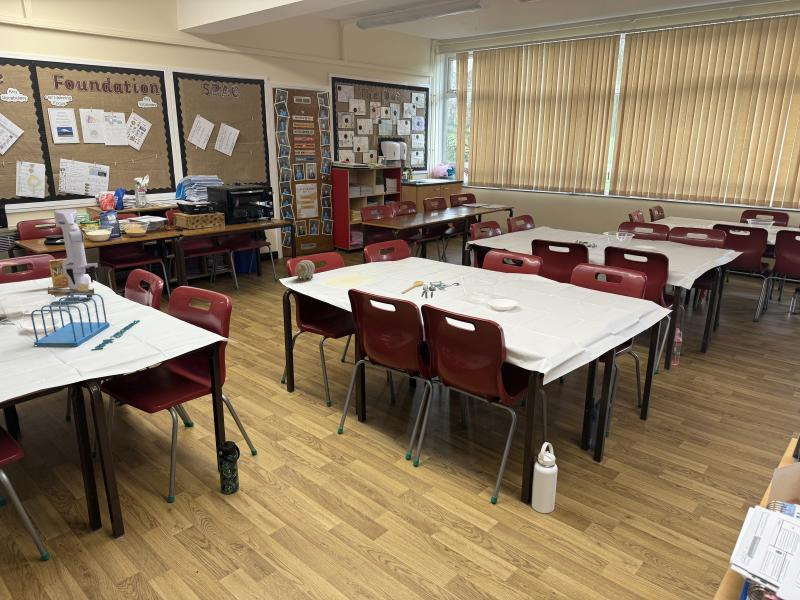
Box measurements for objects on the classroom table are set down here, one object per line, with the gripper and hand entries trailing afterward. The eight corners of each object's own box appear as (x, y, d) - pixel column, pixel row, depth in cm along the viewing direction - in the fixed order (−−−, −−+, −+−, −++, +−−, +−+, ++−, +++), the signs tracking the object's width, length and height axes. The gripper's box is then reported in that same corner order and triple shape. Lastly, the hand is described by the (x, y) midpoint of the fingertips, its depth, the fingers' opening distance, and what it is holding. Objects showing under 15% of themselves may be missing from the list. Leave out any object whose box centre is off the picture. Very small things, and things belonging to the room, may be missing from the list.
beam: (47, 297, 275) (47, 289, 274) (48, 294, 280) (48, 286, 279) (94, 298, 285) (94, 290, 284) (93, 295, 290) (93, 287, 289)
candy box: (53, 288, 306) (48, 261, 302) (53, 286, 310) (49, 259, 306) (72, 286, 310) (67, 259, 306) (72, 285, 314) (67, 258, 309)
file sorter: (71, 326, 246) (65, 292, 242) (110, 326, 246) (105, 293, 242) (34, 346, 222) (27, 309, 218) (77, 347, 222) (71, 310, 218)
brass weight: (77, 292, 282) (78, 285, 281) (77, 290, 285) (77, 283, 284) (87, 292, 284) (88, 285, 283) (87, 290, 287) (87, 283, 286)
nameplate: (88, 351, 218) (101, 351, 218) (88, 349, 218) (101, 349, 218) (132, 321, 254) (143, 321, 254) (132, 320, 253) (143, 320, 253)
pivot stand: (65, 304, 277) (64, 294, 276) (66, 299, 286) (64, 288, 285) (79, 303, 280) (78, 292, 278) (79, 297, 289) (78, 287, 288)
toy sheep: (290, 281, 325) (289, 262, 322) (305, 274, 340) (304, 256, 337) (306, 282, 322) (306, 263, 319) (320, 276, 337) (320, 258, 334)
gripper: (60, 258, 267) (65, 286, 270) (94, 255, 273) (99, 282, 275) (62, 256, 273) (67, 284, 276) (95, 253, 279) (100, 280, 282)
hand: (83, 283), depth 276 cm, fingers open, 7 cm apart
